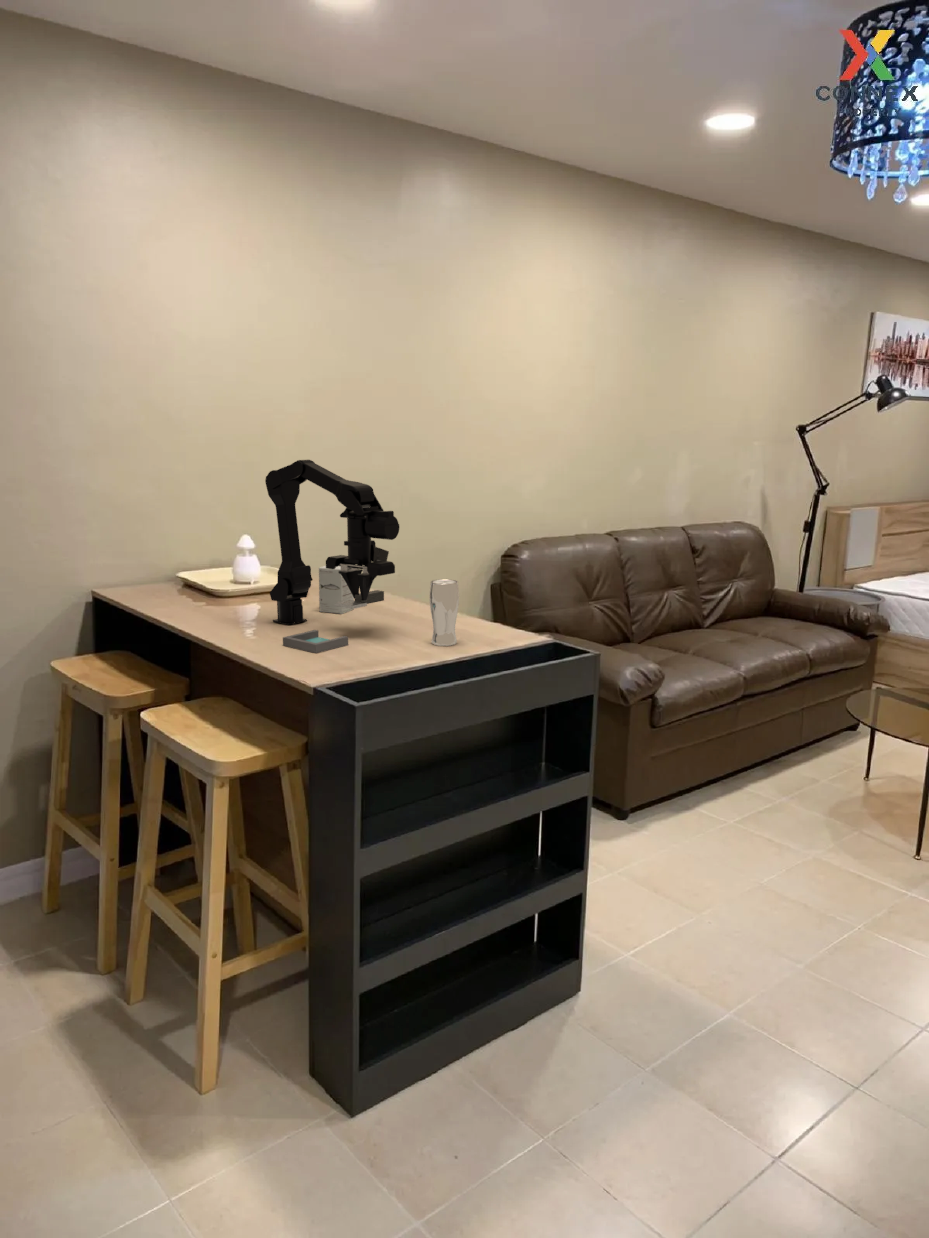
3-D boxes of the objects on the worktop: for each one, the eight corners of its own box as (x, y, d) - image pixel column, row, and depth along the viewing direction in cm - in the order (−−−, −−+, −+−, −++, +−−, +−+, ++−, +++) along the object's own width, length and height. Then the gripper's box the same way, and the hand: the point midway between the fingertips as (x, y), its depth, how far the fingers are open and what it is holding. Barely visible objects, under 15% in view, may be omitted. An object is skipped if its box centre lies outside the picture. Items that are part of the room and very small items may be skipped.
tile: (302, 647, 213) (302, 640, 213) (318, 643, 217) (318, 637, 217) (317, 650, 210) (317, 644, 210) (333, 646, 214) (332, 640, 214)
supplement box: (318, 612, 250) (317, 567, 247) (332, 607, 256) (331, 563, 254) (341, 614, 247) (340, 569, 244) (355, 609, 254) (354, 565, 251)
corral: (283, 645, 212) (282, 637, 212) (315, 637, 220) (314, 629, 220) (316, 653, 205) (316, 644, 205) (348, 644, 213) (348, 636, 213)
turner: (371, 598, 230) (371, 589, 229) (389, 601, 226) (389, 592, 226) (334, 605, 220) (334, 596, 219) (352, 608, 216) (352, 599, 216)
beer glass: (429, 639, 219) (428, 579, 216) (457, 639, 219) (457, 578, 216) (430, 646, 212) (430, 584, 209) (459, 646, 213) (460, 584, 209)
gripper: (409, 536, 220) (410, 599, 223) (355, 531, 231) (356, 590, 234) (378, 541, 211) (379, 606, 214) (323, 534, 222) (325, 596, 226)
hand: (360, 599), depth 222 cm, fingers closed on turner, 2 cm apart
